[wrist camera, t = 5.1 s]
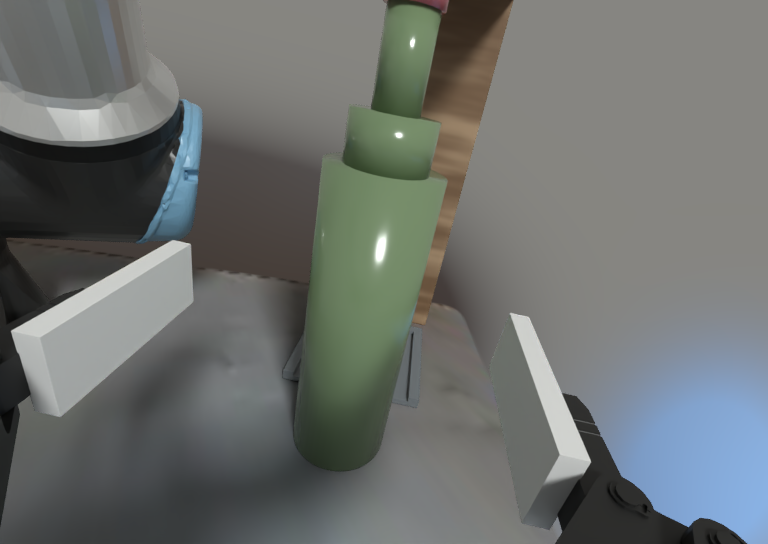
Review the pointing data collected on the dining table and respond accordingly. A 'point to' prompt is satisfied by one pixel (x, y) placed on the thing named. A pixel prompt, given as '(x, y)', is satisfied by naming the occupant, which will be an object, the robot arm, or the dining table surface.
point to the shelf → (458, 109)
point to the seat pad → (407, 377)
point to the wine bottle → (370, 249)
